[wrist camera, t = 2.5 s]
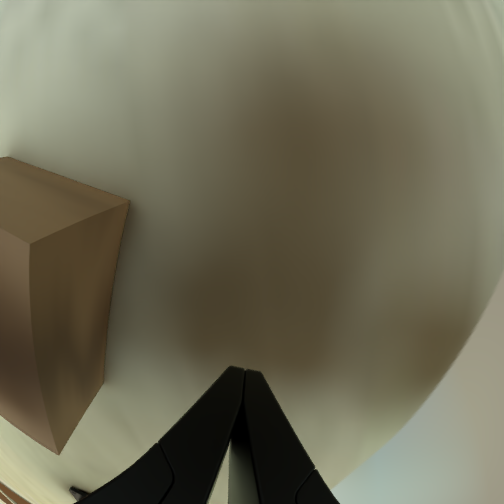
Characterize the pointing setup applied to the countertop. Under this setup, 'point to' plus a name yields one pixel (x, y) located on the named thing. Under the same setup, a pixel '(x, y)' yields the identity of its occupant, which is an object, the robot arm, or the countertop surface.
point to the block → (53, 297)
